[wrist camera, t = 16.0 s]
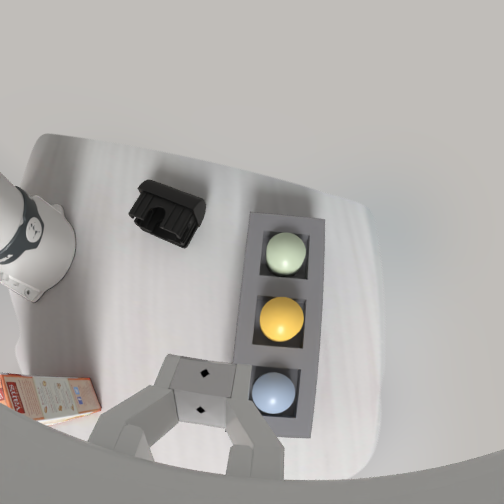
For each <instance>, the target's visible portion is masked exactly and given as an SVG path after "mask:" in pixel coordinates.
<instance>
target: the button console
mask: <svg viewBox="0 0 504 504" xmlns="http://www.w3.org/2000/svg"><path fill="white" fill-rule="evenodd" d="M279 233H292V234H294V235H296V236H298V237H299V238H300V239H301V240H302V241H303V243H304V245H305V248H306V255H305V258H304V261H303V263H302V265H301V267H300V269H299V271H298V272H297V273H296V274H294V275H293V276H290V277H278V276H276V275H274V274H273V273H271V272H270V270H269V269H268V267H267V265H266V251H267V245H268V243H269V241H270V240H271V238H272V237H274V236H275V235H277V234H279ZM324 251H325V219H318V218H308V217H298V216H288V215H278V214H267V213H256V212H250V219H249V227H248V235H247V244H246V252H245V261H244V269H243V278H242V287H241V295H240V304H239V313H238V321H237V330H236V339H235V348H234V357H233V363H235V364H245V365H252V369H251V379H250V390H249V400H250V401H252V402H253V403H254V401H253V397H252V389H253V385H254V383H255V381H256V380H257V378H259V377H260V376H261V375H263V374H265V373H268V372H276V373H280V374H283V375H285V376H286V377H288V378H289V379H290V380H291V381H292V383H293V385H294V388H295V398H294V401H293V403H292V404H291V406H290V407H289V408H288V409H286V410H285V411H283V412H280V413H275V414H271V413H266V412H264V411H262V410H260V409H259V408H258V407H257V406H256V404H255V403H254V405H255V406H256V408H257V409H258V411H259V412H260V414H261V415H262V416H263V418H264V419H265V421H266V422H267V424H268V425H269V427H270V428H271V430H272V431H273V432H274V434H275V435H276V437H288V438H311V430H312V422H313V413H314V404H315V395H316V384H317V374H318V362H319V350H320V336H321V321H322V303H323V282H324ZM276 297H287V298H290V299H292V300H294V301H295V302H297V303H298V304H299V306H300V307H301V309H302V311H303V316H304V321H303V325H302V328H301V329H300V331H299V332H298V333H297V334H296V335H295V336H294V337H292V338H291V339H289V340H287V341H284V342H275V341H272V340H270V339H268V338H267V337H266V336H265V335H264V334H263V333H262V331H261V328H260V314H261V311H262V308H263V307H264V305H265V304H266V303H267V302H268V301H270V300H271V299H273V298H276ZM225 432H227V431H226V429H225Z"/></svg>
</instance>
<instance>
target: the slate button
mask: <svg viewBox="0 0 504 504" xmlns="http://www.w3.org/2000/svg"><path fill="white" fill-rule="evenodd" d="M252 397H253V401H254V403H255V404H256V406H257V407H258V408H259V409H260V410H262V411H264V412H266V413H271V414H275V413H280V412H283V411H285V410H286V409H288V408H289V407H290V406H291V404H292V403H293V401H294V398H295V388H294V385H293V383H292V381H291V380H290V379H289V378H288V377H286V376H285V375H283V374H280V373H276V372H268V373H265V374H263V375H261V376H260V377H259V378H257V380H256V381H255V383H254V385H253V389H252Z"/></svg>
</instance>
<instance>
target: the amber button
mask: <svg viewBox="0 0 504 504" xmlns="http://www.w3.org/2000/svg"><path fill="white" fill-rule="evenodd" d="M303 321H304V316H303V311H302V309H301V307H300V306H299V304H298V303H297V302H295V301H294V300H292V299H290V298H287V297H276V298H273V299H271V300H270V301H268V302H267V303H266V304H265V305H264V307H263V308H262V311H261V314H260V328H261V331H262V333H263V334H264V335H265V336H266V337H267V338H268V339H270V340H272V341H275V342H284V341H287V340H289V339H291V338H292V337H294V336H295V335H296V334H297V333H298V332H299V331H300V329H301V328H302V325H303Z"/></svg>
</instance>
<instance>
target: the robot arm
mask: <svg viewBox="0 0 504 504" xmlns="http://www.w3.org/2000/svg"><path fill="white" fill-rule="evenodd" d="M75 245H76V241H75V234H74V231H73V228H72V226H71V225H70V223H69V222H68V221H67V220H66V218H65V215H64V211H63V208H62V206H60V205H59V204H54V205H50V204H49V203H47V202H46V201H45V200H43V199H42V198H41V197H39V196H38V195H34V196H30V195H29V194H28V193H27V192H26V191H24V190H22V189H21V188H19V187H17V186H14V185H13V184H12V183H11V182H10V181H9V180H8V179H7V178H6V177H5V176H3V174H1V173H0V283H2V284H3V285H5V286H7V287H8V288H10V289H11V290H13V291H14V292H16V293H18V294H19V295H21V296H23V297H24V298H26V299H28V300H30V301H31V302H36V301H37V300H38V299H39V298H40V297H41V296H42V294H43V293H44V292H45V291H46V290H47V289H49V288H51V287H53V286H54V285H55V284H57V283H58V282H59V281H60V280H61V279H62V278H63V277H64V275H65V274H66V272H67V271H68V269H69V267H70V265H71V263H72V260H73V257H74V253H75ZM29 292H30V293H29ZM251 369H252V365H245V364H235V363H226V362H217V361H208V360H202V359H196V358H190V357H184V356H177V355H172V354H168V355H167V356H166V357H165V360H164V362H163V364H162V367H161V369H160V371H159V374H158V376H157V379H156V381H155V383H154V386H152V385H149V386H147V387H146V388H144V389H143V390H141V391H139V392H138V393H136V394H135V395H133V396H131V397H130V398H128V399H126V400H125V401H123V402H121V403H120V404H118V405H117V406H115V407H113V408H112V409H110V410H108V411H107V412H105V413H103V414H101V415H100V417H99V419H98V421H97V423H96V425H95V427H94V429H93V431H92V433H91V435H90V437H89V439H88V441H84V440H81V439H78V438H76V437H73V436H71V435H68V434H66V433H63V432H61V431H58V430H56V429H53V428H51V427H49V426H47V425H44V424H42V423H40V422H38V421H36V420H33V419H31V418H29V417H27V416H25V415H23V414H21V413H19V412H17V411H15V410H13V409H11V408H9V407H7V406H6V405H4V404H2V403H0V504H504V450H500V451H497V452H494V453H491V454H488V455H485V456H481V457H477V458H474V459H470V460H467V461H463V462H459V463H455V464H450V465H446V466H442V467H438V468H432V469H427V470H422V471H417V472H410V473H404V474H396V475H389V476H380V477H372V478H371V477H370V478H359V479H342V480H284V446H283V445H282V444H281V442H280V441H279V439H278V438H277V437H276V435H275V434H274V432H273V431H272V430H271V428H270V427H269V425H268V424H267V422H266V421H265V419H264V418H263V416H262V415H261V414H260V412H259V411H258V409H257V408H256V406H255V405H254V403H253V402H252V401H250V400H249V390H250V379H251ZM178 421H181V422H188V423H194V424H202V425H207V426H213V427H219V428H226V431H227V433H228V436H229V438H230V440H231V442H232V443H233V446H232V447H230V453H229V459H228V464H227V470H226V475H223V474H216V473H209V472H203V471H197V470H191V469H186V468H181V467H176V466H171V465H166V464H162V463H157V462H155V461H154V458H153V456H152V453H151V451H150V447H151V446H152V445H153V444H154V443H156V442H157V441H158V440H159V439H160V438H161V437H163V436H164V435H165V434H166V433H167V432H168V431H169V430H171V429H172V428H173V427H174V426H175V425H176V424H177V423H178Z"/></svg>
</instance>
